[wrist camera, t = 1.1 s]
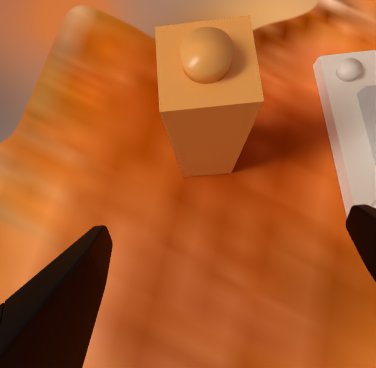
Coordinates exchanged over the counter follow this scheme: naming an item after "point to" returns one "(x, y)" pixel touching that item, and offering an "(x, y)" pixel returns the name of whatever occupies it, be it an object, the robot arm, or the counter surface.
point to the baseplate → (351, 121)
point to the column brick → (208, 91)
